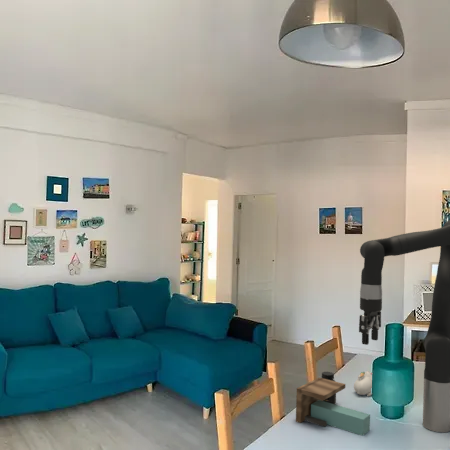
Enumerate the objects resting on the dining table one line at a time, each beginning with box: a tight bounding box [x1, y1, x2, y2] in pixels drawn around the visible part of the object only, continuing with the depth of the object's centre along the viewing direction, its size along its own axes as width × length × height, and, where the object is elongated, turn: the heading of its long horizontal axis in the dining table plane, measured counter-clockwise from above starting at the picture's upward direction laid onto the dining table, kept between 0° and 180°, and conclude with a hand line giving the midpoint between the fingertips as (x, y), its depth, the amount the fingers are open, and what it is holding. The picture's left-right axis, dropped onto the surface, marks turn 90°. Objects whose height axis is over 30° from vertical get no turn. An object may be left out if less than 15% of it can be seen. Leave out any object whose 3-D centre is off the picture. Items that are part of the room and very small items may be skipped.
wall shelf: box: [295, 377, 346, 428], centre depth 175 cm, size 17×11×12 cm, turn 141°
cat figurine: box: [353, 370, 373, 397], centre depth 204 cm, size 10×8×15 cm
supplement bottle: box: [321, 371, 337, 405], centre depth 190 cm, size 7×7×12 cm
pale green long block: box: [311, 400, 371, 436], centre depth 170 cm, size 6×20×6 cm, turn 51°
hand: (369, 342), depth 169 cm, fingers open, 8 cm apart
